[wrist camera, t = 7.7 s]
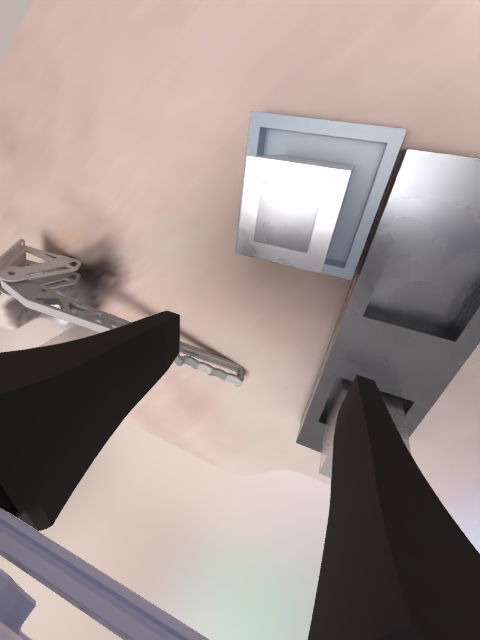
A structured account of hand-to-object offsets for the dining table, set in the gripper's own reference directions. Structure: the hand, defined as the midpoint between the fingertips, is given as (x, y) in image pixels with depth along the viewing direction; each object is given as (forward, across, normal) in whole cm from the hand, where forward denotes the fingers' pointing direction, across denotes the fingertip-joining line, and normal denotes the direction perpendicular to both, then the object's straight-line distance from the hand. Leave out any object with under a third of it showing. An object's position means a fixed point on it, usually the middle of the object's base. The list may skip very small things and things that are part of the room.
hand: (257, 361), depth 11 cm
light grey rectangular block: (+10, +1, -5) cm, 11 cm away
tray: (+10, +1, -5) cm, 11 cm away
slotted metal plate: (+10, -7, +3) cm, 13 cm away
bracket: (+11, +14, +8) cm, 19 cm away
